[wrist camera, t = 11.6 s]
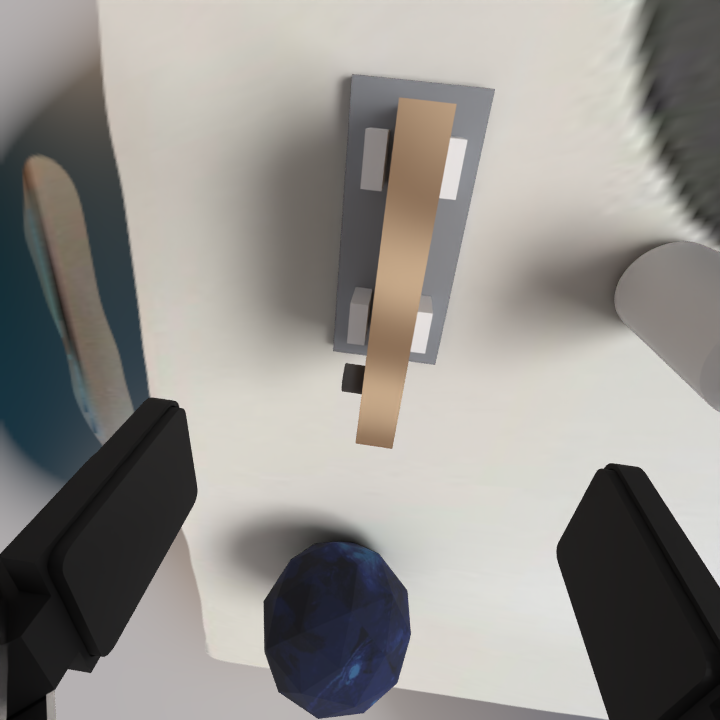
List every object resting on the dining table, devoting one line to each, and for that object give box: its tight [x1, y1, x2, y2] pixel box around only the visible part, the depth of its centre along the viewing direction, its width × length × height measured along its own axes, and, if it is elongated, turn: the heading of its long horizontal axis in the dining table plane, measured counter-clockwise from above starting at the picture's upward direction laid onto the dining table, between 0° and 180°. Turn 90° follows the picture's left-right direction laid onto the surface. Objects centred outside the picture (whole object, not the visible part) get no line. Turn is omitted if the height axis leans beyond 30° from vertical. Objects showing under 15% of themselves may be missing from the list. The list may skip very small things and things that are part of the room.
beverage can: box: [614, 242, 720, 412], centre depth 23 cm, size 6×6×12 cm
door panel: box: [342, 97, 457, 449], centre depth 23 cm, size 16×3×11 cm, turn 174°
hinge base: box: [333, 74, 495, 365], centre depth 27 cm, size 18×8×4 cm, turn 175°
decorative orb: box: [264, 542, 411, 719], centre depth 41 cm, size 14×15×15 cm
